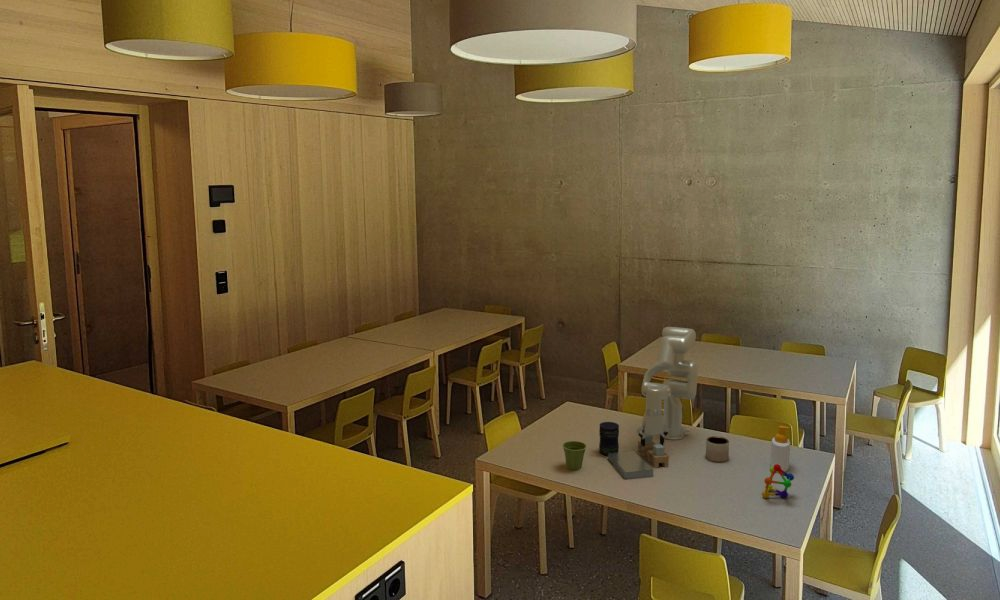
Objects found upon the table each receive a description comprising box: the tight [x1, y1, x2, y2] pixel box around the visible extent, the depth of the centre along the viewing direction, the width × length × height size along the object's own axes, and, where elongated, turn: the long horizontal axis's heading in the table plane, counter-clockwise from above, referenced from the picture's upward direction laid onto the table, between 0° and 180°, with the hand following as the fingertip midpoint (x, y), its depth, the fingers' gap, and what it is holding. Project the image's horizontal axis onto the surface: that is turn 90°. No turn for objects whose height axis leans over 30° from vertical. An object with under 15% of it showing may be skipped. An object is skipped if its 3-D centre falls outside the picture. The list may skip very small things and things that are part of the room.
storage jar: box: [598, 421, 620, 458], centre depth 350 cm, size 10×10×15 cm
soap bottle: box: [770, 425, 791, 472], centre depth 329 cm, size 13×8×20 cm, turn 160°
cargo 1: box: [644, 435, 654, 445], centre depth 350 cm, size 4×4×4 cm
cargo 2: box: [653, 443, 665, 456], centre depth 335 cm, size 4×4×4 cm
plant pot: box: [561, 440, 588, 471], centre depth 334 cm, size 12×12×11 cm
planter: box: [705, 435, 730, 463], centre depth 342 cm, size 11×11×10 cm
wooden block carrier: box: [637, 440, 670, 469], centre depth 343 cm, size 22×7×6 cm, turn 10°
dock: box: [607, 450, 654, 480], centre depth 333 cm, size 14×24×3 cm, turn 10°
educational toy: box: [761, 464, 795, 499], centre depth 301 cm, size 16×13×15 cm
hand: (652, 445), depth 342 cm, fingers open, 9 cm apart
